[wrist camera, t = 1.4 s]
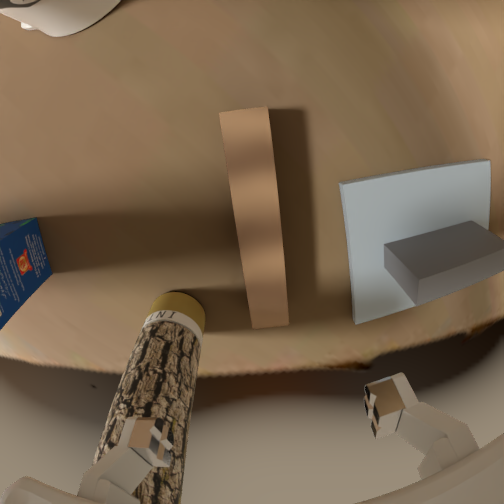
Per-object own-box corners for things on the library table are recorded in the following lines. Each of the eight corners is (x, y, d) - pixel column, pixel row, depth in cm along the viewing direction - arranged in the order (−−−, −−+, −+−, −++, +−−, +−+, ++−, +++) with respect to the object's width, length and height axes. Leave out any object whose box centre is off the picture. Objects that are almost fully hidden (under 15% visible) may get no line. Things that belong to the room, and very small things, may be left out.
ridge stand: (352, 319, 35) (376, 369, 27) (338, 182, 28) (376, 207, 19) (476, 276, 33) (511, 308, 25) (484, 158, 26) (534, 175, 18)
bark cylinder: (217, 313, 34) (198, 527, 11) (184, 341, 36) (149, 526, 13) (173, 278, 32) (101, 498, 9) (142, 311, 34) (72, 497, 11)
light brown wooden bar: (222, 114, 25) (219, 112, 21) (264, 109, 25) (267, 106, 21) (251, 308, 34) (252, 329, 31) (284, 303, 34) (289, 324, 30)
